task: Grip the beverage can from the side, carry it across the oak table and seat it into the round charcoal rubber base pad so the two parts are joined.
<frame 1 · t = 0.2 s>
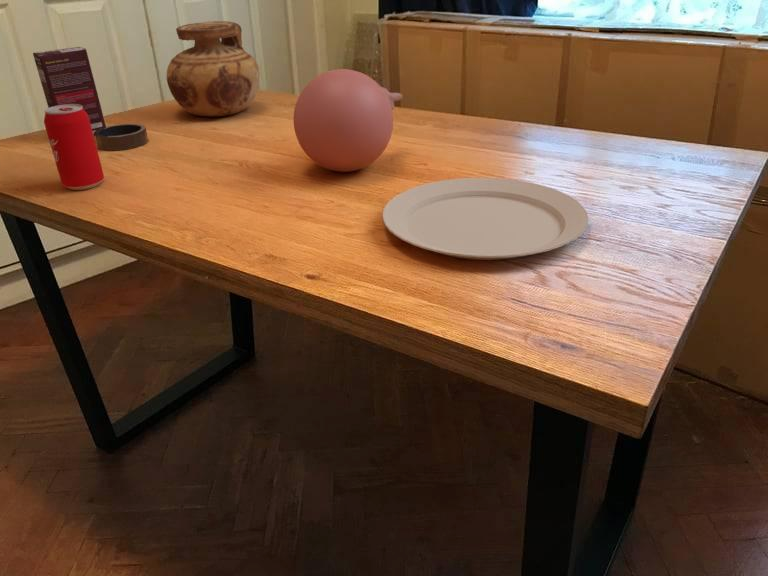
clay pot: (219, 112, 142), on the table
supplement box: (81, 135, 130), on the table
beverage can: (84, 186, 104), on the table
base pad: (122, 143, 123), on the table
plate: (482, 227, 84), on the table
balloon: (358, 167, 107), on the table
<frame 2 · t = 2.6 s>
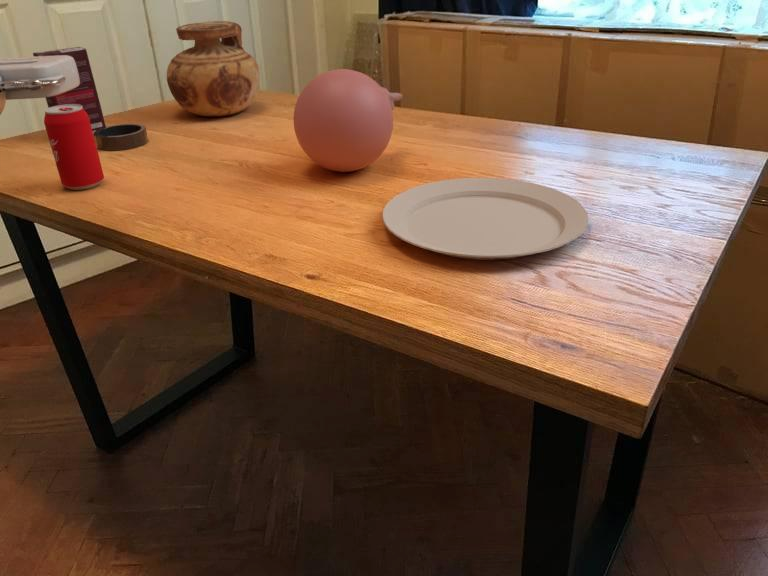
hand: (12, 66, 83), 20 cm above the table, tool horizontal, fingers open, 8 cm apart
nothing on the table moved.
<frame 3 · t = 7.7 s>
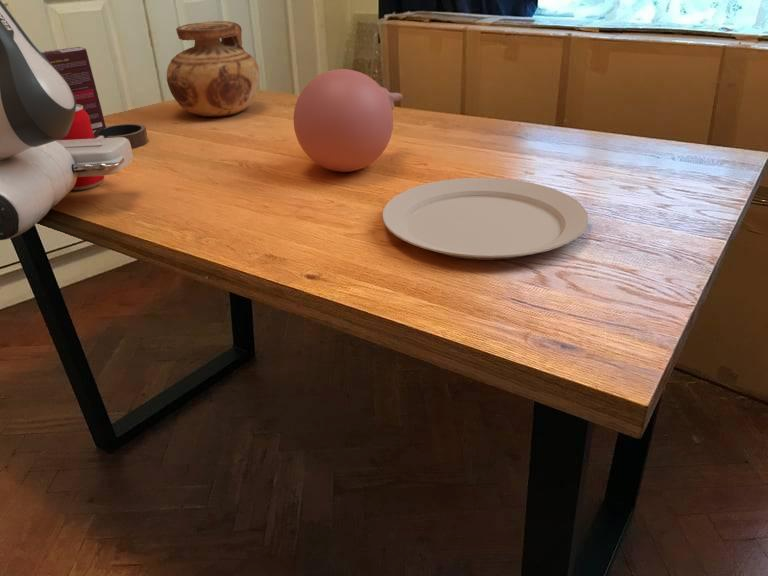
hand: (75, 142, 101), 7 cm above the table, tool horizontal, fingers closed on beverage can, 6 cm apart
beverage can: (84, 186, 104), on the table, touching gripper
everything else where it was.
when the fingers open (7 cm above the table, at t = 16.3 s): beverage can stays where it is, resting on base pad.
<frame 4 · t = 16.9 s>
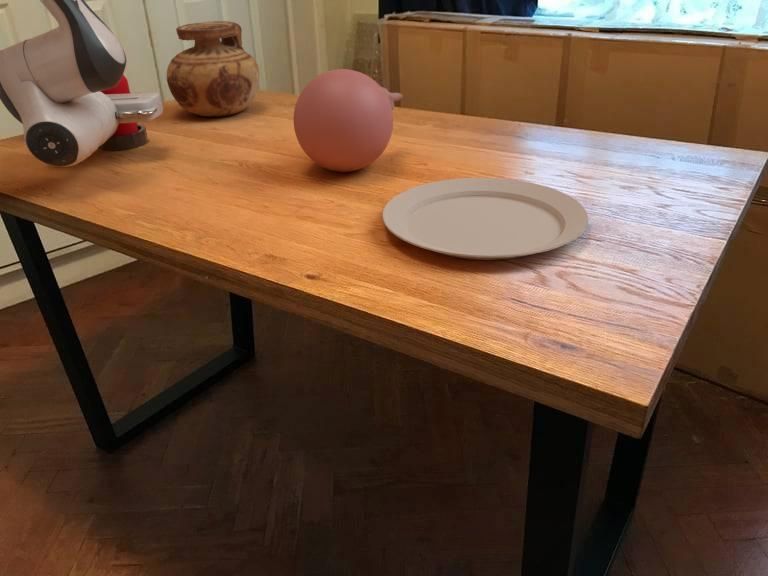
hand: (113, 98, 120), 8 cm above the table, tool horizontal, fingers open, 8 cm apart
beverage can: (122, 140, 123), point 1 cm above the table, touching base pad
everything else where it was.
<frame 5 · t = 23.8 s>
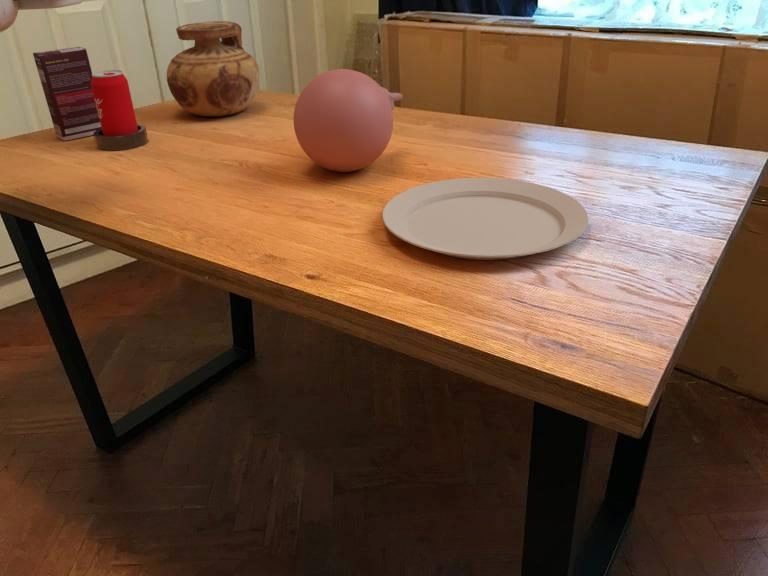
nothing on the table moved.
at the end: beverage can 0.1 cm off-centre in the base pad, point 0.6 cm above the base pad's base; beverage can tilted 0°; the gripper is holding nothing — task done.
